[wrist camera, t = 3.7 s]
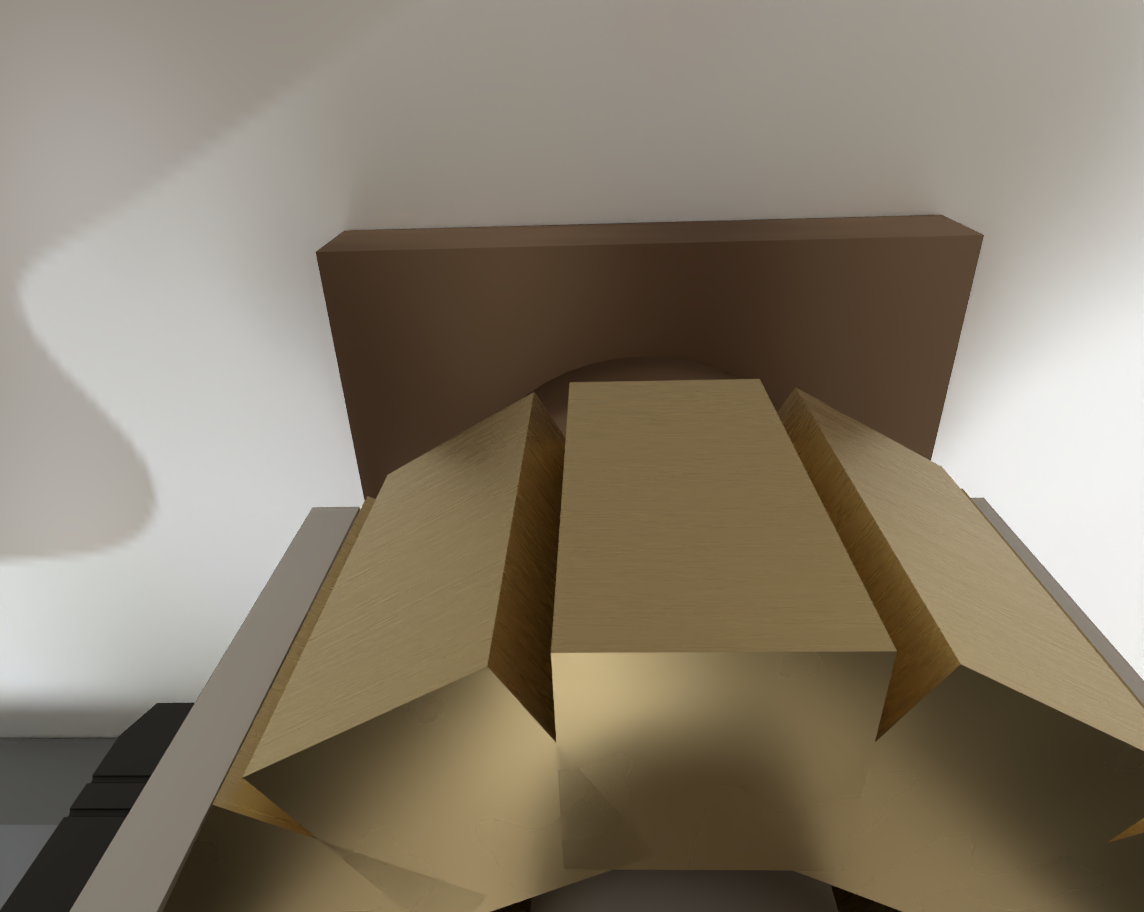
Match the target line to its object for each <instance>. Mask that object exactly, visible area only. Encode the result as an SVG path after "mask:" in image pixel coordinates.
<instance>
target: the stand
mask: <svg viewBox="0 0 1144 912" xmlns="http://www.w3.org/2000/svg"><path fill="white" fill-rule="evenodd" d="M983 236H984V235H983V234H980V233H978V232H976V231H974V230H972V229H970V228H968V227H966V226H964V225H962V224H959V223H957V222H955V221H953V220H951V219H949V218H947V217H945V216H943V215H920V216H883V217H845V218H807V219H769V220H731V221H693V222H655V223H617V224H579V225H542V226H504V227H466V228H428V229H390V230H352V231H343V232H342V233H341V234H339V235H338V236H337V237H335V238H334V239H333V240H331V241H330V242H329V243H327V244H326V245H325V246H323V247H322V248H321V249H319V250H318V251H317V252H316V255H317V261H318V266H319V271H320V276H321V281H322V286H323V291H324V296H325V301H326V306H327V311H328V317H329V322H330V327H331V332H332V337H333V342H334V347H335V352H336V357H337V362H338V367H339V373H340V378H341V383H342V388H343V393H344V398H345V403H346V408H347V413H348V418H349V423H350V429H351V434H352V439H353V444H354V449H355V454H356V459H357V464H358V469H359V474H360V479H361V485H362V490H363V495H364V500H366V498H367V496H369V497H371V498H373V499H375V500H376V498H377V496H378V494H379V492H380V490H381V488H382V486H383V484H384V481H385V479H386V477H387V475H388V474H390V473H392V472H393V471H395V470H397V469H399V468H401V467H402V466H404V465H406V464H408V463H409V462H411V461H413V460H415V459H416V458H418V457H420V456H422V455H423V454H425V453H427V452H429V451H431V450H432V449H434V448H436V447H438V446H439V445H441V444H443V443H445V442H446V441H448V440H450V439H452V438H453V437H455V436H457V435H459V434H461V433H462V432H464V431H466V430H468V429H469V428H471V427H473V426H475V425H476V424H478V423H480V422H482V421H483V420H485V419H487V418H489V417H491V416H492V415H494V414H496V413H498V412H499V411H501V410H503V409H505V408H506V407H508V406H510V405H512V404H513V403H515V402H517V401H519V400H521V399H522V398H524V397H526V396H528V395H529V394H531V393H533V392H534V393H535V394H536V395H537V397H538V398H539V400H540V401H541V403H542V404H543V406H544V407H545V408H546V410H547V411H548V413H549V414H550V416H551V417H552V418H553V420H554V421H555V423H556V424H557V426H558V427H559V429H560V430H561V431H562V433H563V434H564V436H565V437H566V427H567V412H568V398H569V383H570V382H617V381H671V380H727V379H760V380H761V382H762V384H763V386H764V388H765V390H766V392H767V394H768V396H769V398H770V400H771V402H772V404H773V406H774V408H775V410H776V412H777V411H778V410H779V408H780V407H781V406H782V404H783V403H784V402H785V401H786V399H787V398H788V397H789V395H790V394H791V393H792V391H793V390H794V389H795V387H796V388H798V389H800V390H801V391H803V392H805V393H807V394H809V395H811V396H813V397H814V398H816V399H818V400H820V401H822V402H824V403H825V404H827V405H829V406H831V407H833V408H835V409H836V410H838V411H840V412H842V413H844V414H846V415H847V416H849V417H851V418H853V419H855V420H857V421H858V422H860V423H862V424H864V425H866V426H868V427H869V428H871V429H873V430H875V431H877V432H879V433H881V434H882V435H884V436H886V437H888V438H890V439H892V440H893V441H895V442H897V443H899V444H901V445H903V446H904V447H906V448H908V449H910V450H912V451H914V452H915V453H917V454H919V455H921V456H923V457H925V458H926V459H928V460H930V461H931V457H932V453H933V449H934V445H935V440H936V436H937V432H938V428H939V423H940V419H941V415H942V411H943V406H944V402H945V398H946V394H947V389H948V385H949V381H950V377H951V372H952V368H953V364H954V360H955V355H956V351H957V347H958V343H959V338H960V334H961V330H962V326H963V321H964V317H965V313H966V308H967V304H968V300H969V296H970V291H971V287H972V283H973V279H974V274H975V270H976V266H977V262H978V257H979V253H980V249H981V245H982V240H983ZM530 912H838V908H837V905H836V901H835V898H834V894H833V891H832V887H831V885H830V884H827V883H825V882H822V881H819V880H817V879H814V878H811V877H809V876H806V875H803V874H801V873H798V872H795V871H778V870H610V871H607V872H604V873H602V874H599V875H596V876H593V877H590V878H587V879H584V880H581V881H578V882H575V883H572V884H569V885H567V886H564V887H561V888H558V889H555V890H552V891H549V892H546V893H543V894H540V895H537V896H535V897H532V898H531V910H530Z"/></svg>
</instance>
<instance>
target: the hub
mask: <svg viewBox="0 0 1144 912" xmlns="http://www.w3.org/2000/svg"><path fill="white" fill-rule="evenodd" d="M116 740H117V738H71V739H0V910H1V908H2V907H3V905H4V904H5V902H6V901H7V899H8V898H9V896H10V895H11V894H12V892H13V891H14V889H15V888H16V886H17V885H18V883H19V882H20V880H21V879H22V877H23V876H24V874H25V873H26V872H27V870H28V869H29V867H30V866H31V864H32V863H33V861H34V860H35V858H36V857H37V855H38V854H39V853H40V851H41V850H42V848H43V847H44V845H45V844H46V842H47V841H48V839H49V838H50V836H51V835H52V833H53V832H54V831H55V829H56V828H57V826H58V825H59V823H60V822H61V820H62V819H63V817H68V816H69V813H70V807H71V806H72V804H73V803H74V801H75V800H76V798H77V797H78V795H79V794H80V792H81V791H82V790H83V788H84V787H85V785H86V784H87V783H91V781H92V778H93V777H92V775H93V773H94V772H95V771H96V769H97V768H98V766H99V765H100V763H101V762H102V760H103V759H104V757H105V756H106V754H107V753H108V751H109V750H110V749H111V747H112V746H113V744H114V743H115V741H116Z"/></svg>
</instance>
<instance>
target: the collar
mask: <svg viewBox="0 0 1144 912" xmlns="http://www.w3.org/2000/svg"><path fill="white" fill-rule="evenodd" d="M610 870H778V871H795V872H798V873H801V874H803V875H806V876H809V877H811V878H814V879H817V880H819V881H822V882H825V883H827V884H830V885H831V887H832V891H833V894H834V898H835V901H836V905H837V908H838V912H1144V704H1143V703H1142V702H1141V701H1140V700H1139V698H1138V697H1137V696H1136V695H1135V694H1134V692H1133V691H1132V690H1131V689H1130V688H1129V687H1128V685H1127V684H1126V683H1125V682H1124V681H1123V679H1122V678H1121V677H1120V676H1119V675H1118V673H1117V672H1116V671H1115V670H1114V669H1113V667H1112V666H1111V665H1110V664H1109V663H1108V661H1107V660H1106V659H1105V658H1104V657H1103V656H1102V654H1101V653H1100V652H1099V651H1098V650H1097V648H1096V647H1095V646H1094V645H1093V644H1092V642H1091V641H1090V640H1089V639H1088V638H1087V636H1086V635H1085V634H1084V633H1083V632H1082V630H1081V629H1080V628H1079V627H1078V626H1077V625H1076V623H1075V622H1074V621H1073V620H1072V619H1071V617H1070V616H1069V615H1068V614H1067V613H1066V611H1065V610H1064V609H1063V608H1062V607H1061V605H1060V604H1059V603H1058V602H1057V601H1056V599H1055V598H1054V597H1053V596H1052V595H1051V594H1050V592H1049V591H1048V590H1047V589H1046V588H1045V586H1044V585H1043V584H1042V583H1041V582H1040V580H1039V579H1038V578H1037V577H1036V576H1035V574H1034V573H1033V572H1032V571H1031V570H1030V568H1029V567H1028V566H1027V565H1026V564H1025V563H1024V561H1023V560H1022V559H1021V558H1020V557H1019V555H1018V554H1017V553H1016V552H1015V551H1014V549H1013V548H1012V547H1011V546H1010V545H1009V543H1008V542H1007V541H1006V540H1005V539H1004V537H1003V536H1002V535H1001V534H1000V533H999V532H998V530H997V529H996V528H995V527H994V526H993V524H992V523H991V522H990V521H989V520H988V518H987V517H986V516H985V515H984V514H983V512H982V511H981V510H980V509H979V508H978V506H977V505H976V504H975V503H974V502H973V501H972V499H971V498H970V497H969V496H968V495H967V493H966V492H965V491H964V490H963V489H960V488H959V487H958V485H957V484H956V483H955V482H954V481H953V479H952V478H951V477H950V476H949V475H948V473H947V472H946V471H945V470H944V469H943V467H941V466H939V465H937V464H936V463H934V462H932V461H930V460H928V459H926V458H925V457H923V456H921V455H919V454H917V453H915V452H914V451H912V450H910V449H908V448H906V447H904V446H903V445H901V444H899V443H897V442H895V441H893V440H892V439H890V438H888V437H886V436H884V435H882V434H881V433H879V432H877V431H875V430H873V429H871V428H869V427H868V426H866V425H864V424H862V423H860V422H858V421H857V420H855V419H853V418H851V417H849V416H847V415H846V414H844V413H842V412H840V411H838V410H836V409H835V408H833V407H831V406H829V405H827V404H825V403H824V402H822V401H820V400H818V399H816V398H814V397H813V396H811V395H809V394H807V393H805V392H803V391H801V390H800V389H798V388H796V387H795V389H794V390H793V391H792V393H791V394H790V395H789V397H788V398H787V399H786V401H785V402H784V403H783V404H782V406H781V407H780V408H779V410H778V411H777V412H776V410H775V408H774V406H773V404H772V402H771V400H770V398H769V396H768V394H767V392H766V390H765V388H764V386H763V384H762V382H761V380H760V379H727V380H671V381H617V382H570V383H569V398H568V412H567V427H566V437H565V436H564V434H563V433H562V431H561V430H560V429H559V427H558V426H557V424H556V423H555V421H554V420H553V418H552V417H551V416H550V414H549V413H548V411H547V410H546V408H545V407H544V406H543V404H542V403H541V401H540V400H539V398H538V397H537V395H536V394H535V393H534V392H533V393H531V394H529V395H528V396H526V397H524V398H522V399H521V400H519V401H517V402H515V403H513V404H512V405H510V406H508V407H506V408H505V409H503V410H501V411H499V412H498V413H496V414H494V415H492V416H491V417H489V418H487V419H485V420H483V421H482V422H480V423H478V424H476V425H475V426H473V427H471V428H469V429H468V430H466V431H464V432H462V433H461V434H459V435H457V436H455V437H453V438H452V439H450V440H448V441H446V442H445V443H443V444H441V445H439V446H438V447H436V448H434V449H432V450H431V451H429V452H427V453H425V454H423V455H422V456H420V457H418V458H416V459H415V460H413V461H411V462H409V463H408V464H406V465H404V466H402V467H401V468H399V469H397V470H395V471H393V472H392V473H390V474H388V475H387V477H386V479H385V481H384V484H383V486H382V488H381V490H380V492H379V494H378V496H377V498H376V500H375V499H373V498H371V497H369V496H367V498H366V500H365V502H364V504H363V506H362V508H361V510H360V512H359V514H358V516H357V518H356V520H355V522H354V524H353V526H352V528H351V530H350V532H349V534H348V536H347V538H346V540H345V542H344V544H343V546H342V548H341V550H340V552H339V554H338V556H337V557H336V559H335V561H334V563H333V565H332V567H331V569H330V571H329V573H328V575H327V577H326V579H325V581H324V583H323V585H322V587H321V589H320V591H319V593H318V595H317V597H316V599H315V601H314V603H313V605H312V607H311V609H310V611H309V613H308V615H307V617H306V619H305V621H304V623H303V625H302V627H301V629H300V631H299V633H298V635H297V637H296V639H295V641H294V643H293V645H292V647H291V649H290V651H289V653H288V655H287V657H286V659H285V661H284V663H283V665H282V667H281V669H280V671H279V673H278V675H277V677H276V679H275V681H274V683H273V685H272V687H271V689H270V691H269V693H268V695H267V697H266V699H265V701H264V703H263V705H262V707H261V709H260V711H259V713H258V715H257V717H256V719H255V721H254V723H253V725H252V727H251V729H250V731H249V733H248V735H247V737H246V739H245V741H244V743H243V745H242V747H241V749H240V751H239V753H238V755H237V757H236V759H235V761H234V763H233V765H232V767H231V769H230V770H229V772H228V774H227V776H226V778H225V780H224V782H223V784H222V786H221V788H220V790H219V792H218V794H217V796H216V798H215V800H214V802H213V804H212V806H211V809H210V811H209V813H208V815H207V817H206V819H205V821H204V824H203V826H202V828H201V830H200V832H199V834H198V836H197V839H196V841H195V843H194V845H193V847H192V849H191V851H190V854H189V856H188V858H187V860H186V862H185V864H184V866H183V869H182V871H181V873H180V875H179V877H178V879H177V881H176V884H175V886H174V888H173V890H172V892H171V894H170V896H169V899H168V901H167V903H166V905H165V907H164V909H163V911H162V912H530V910H531V898H532V897H535V896H537V895H540V894H543V893H546V892H549V891H552V890H555V889H558V888H561V887H564V886H567V885H569V884H572V883H575V882H578V881H581V880H584V879H587V878H590V877H593V876H596V875H599V874H602V873H604V872H607V871H610Z"/></svg>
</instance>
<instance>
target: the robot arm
mask: <svg viewBox="0 0 1144 912" xmlns="http://www.w3.org/2000/svg"><path fill="white" fill-rule="evenodd" d="M971 499H972V501H973V502H974V503H975V504H976V505H977V506H978V508H979V509H980V510H981V511H982V512H983V514H984V515H985V516H986V517H987V518H988V520H989V521H990V522H991V523H992V524H993V526H994V527H995V528H996V529H997V530H998V532H999V533H1000V534H1001V535H1002V536H1003V537H1004V539H1005V540H1006V541H1007V542H1008V543H1009V545H1010V546H1011V547H1012V548H1013V549H1014V551H1015V552H1016V553H1017V554H1018V555H1019V557H1020V558H1021V559H1022V560H1023V561H1024V563H1025V564H1026V565H1027V566H1028V567H1029V568H1030V570H1031V571H1032V572H1033V573H1034V574H1035V576H1036V577H1037V578H1038V579H1039V580H1040V582H1041V583H1042V584H1043V585H1044V586H1045V588H1046V589H1047V590H1048V591H1049V592H1050V594H1051V595H1052V596H1053V597H1054V598H1055V599H1056V601H1057V602H1058V603H1059V604H1060V605H1061V607H1062V608H1063V609H1064V610H1065V611H1066V613H1067V614H1068V615H1069V616H1070V617H1071V619H1072V620H1073V621H1074V622H1075V623H1076V625H1077V626H1078V627H1079V628H1080V629H1081V630H1082V632H1083V633H1084V634H1085V635H1086V636H1087V638H1088V639H1089V640H1090V641H1091V642H1092V644H1093V645H1094V646H1095V647H1096V648H1097V650H1098V651H1099V652H1100V653H1101V654H1102V656H1103V657H1104V658H1105V659H1106V660H1107V661H1108V663H1109V664H1110V665H1111V666H1112V667H1113V669H1114V670H1115V671H1116V672H1117V673H1118V675H1119V676H1120V677H1121V678H1122V679H1123V681H1124V682H1125V683H1126V684H1127V685H1128V687H1129V688H1130V689H1131V690H1132V691H1133V692H1134V694H1135V695H1136V696H1137V697H1138V698H1139V700H1140V701H1141V702H1142V703H1143V704H1144V681H1143V679H1142V678H1141V677H1140V676H1139V675H1138V674H1137V673H1136V671H1135V670H1134V669H1133V668H1132V667H1131V666H1130V665H1129V663H1128V662H1127V661H1126V660H1125V659H1124V658H1123V657H1122V655H1121V654H1120V653H1119V652H1118V651H1117V650H1116V649H1115V647H1114V646H1113V645H1112V644H1111V643H1110V642H1109V641H1108V639H1107V638H1106V637H1105V636H1104V635H1103V634H1102V633H1101V631H1100V630H1099V629H1098V628H1097V627H1096V626H1095V625H1094V623H1093V622H1092V621H1091V620H1090V619H1089V618H1088V617H1087V615H1086V614H1085V613H1084V612H1083V611H1082V610H1081V609H1080V607H1079V606H1078V605H1077V604H1076V603H1075V602H1074V601H1073V599H1072V598H1071V597H1070V596H1069V595H1068V594H1067V592H1066V591H1065V590H1064V589H1063V588H1062V587H1061V586H1060V584H1059V583H1058V582H1057V581H1056V580H1055V579H1054V578H1053V576H1052V575H1051V574H1050V573H1049V572H1048V571H1047V570H1046V568H1045V567H1044V566H1043V565H1042V564H1041V563H1040V562H1039V560H1038V559H1037V558H1036V557H1035V556H1034V555H1033V554H1032V552H1031V551H1030V550H1029V549H1028V548H1027V547H1026V546H1025V544H1024V543H1023V542H1022V541H1021V540H1020V539H1019V538H1018V536H1017V535H1016V534H1015V533H1014V532H1013V531H1012V530H1011V528H1010V527H1009V526H1008V525H1007V524H1006V523H1005V522H1004V520H1003V519H1002V518H1001V517H1000V516H999V515H998V514H997V512H996V511H995V510H994V509H993V508H992V507H991V506H990V504H989V503H988V502H987V501H986V500H985V499H984V498H971ZM359 512H360V508H359V507H313V508H312V509H311V511H310V513H309V514H308V516H307V518H306V519H305V521H304V523H303V524H302V526H301V528H300V529H299V531H298V532H297V534H296V536H295V537H294V539H293V541H292V542H291V544H290V546H289V547H288V549H287V551H286V552H285V554H284V556H283V557H282V559H281V561H280V562H279V564H278V566H277V567H276V569H275V571H274V572H273V574H272V576H271V577H270V579H269V581H268V582H267V584H266V586H265V587H264V589H263V591H262V592H261V594H260V596H259V597H258V599H257V601H256V602H255V604H254V606H253V607H252V609H251V611H250V612H249V614H248V616H247V617H246V619H245V621H244V622H243V624H242V626H241V627H240V629H239V631H238V632H237V634H236V636H235V637H234V639H233V641H232V642H231V644H230V646H229V647H228V649H227V651H226V652H225V654H224V656H223V657H222V659H221V661H220V662H219V664H218V666H217V667H216V669H215V671H214V672H213V674H212V676H211V677H210V679H209V681H208V682H207V684H206V685H205V687H204V689H203V690H202V692H201V694H200V695H199V697H198V699H197V700H196V702H195V703H157V704H156V705H155V706H153V707H152V708H151V709H150V710H149V711H148V712H147V713H145V714H144V715H143V716H142V717H141V718H140V719H138V720H137V721H136V722H135V723H134V724H133V725H131V726H130V727H129V728H128V729H127V730H126V731H124V732H123V733H122V734H121V735H120V736H119V737H118V738H117V740H116V741H115V743H114V744H113V746H112V747H111V749H110V750H109V751H108V753H107V754H106V756H105V757H104V759H103V760H102V762H101V763H100V765H99V766H98V768H97V769H96V771H95V772H94V773H93V775H92V777H93V778H92V781H91V783H87V784H86V785H85V787H84V788H83V790H82V791H81V792H80V794H79V795H78V797H77V798H76V800H75V801H74V803H73V804H72V806H71V807H70V813H69V816H68V817H63V819H62V820H61V822H60V823H59V825H58V826H57V828H56V829H55V831H54V832H53V833H52V835H51V836H50V838H49V839H48V841H47V842H46V844H45V845H44V847H43V848H42V850H41V851H40V853H39V854H38V855H37V857H36V858H35V860H34V861H33V863H32V864H31V866H30V867H29V869H28V870H27V872H26V873H25V874H24V876H23V877H22V879H21V880H20V882H19V883H18V885H17V886H16V888H15V889H14V891H13V892H12V894H11V895H10V896H9V898H8V899H7V901H6V902H5V904H4V905H3V907H2V908H1V910H0V912H162V911H163V909H164V907H165V905H166V903H167V901H168V899H169V896H170V894H171V892H172V890H173V888H174V886H175V884H176V881H177V879H178V877H179V875H180V873H181V871H182V869H183V866H184V864H185V862H186V860H187V858H188V856H189V854H190V851H191V849H192V847H193V845H194V843H195V841H196V839H197V836H198V834H199V832H200V830H201V828H202V826H203V824H204V821H205V819H206V817H207V815H208V813H209V811H210V809H211V806H212V804H213V802H214V800H215V798H216V796H217V794H218V792H219V790H220V788H221V786H222V784H223V782H224V780H225V778H226V776H227V774H228V772H229V770H230V769H231V767H232V765H233V763H234V761H235V759H236V757H237V755H238V753H239V751H240V749H241V747H242V745H243V743H244V741H245V739H246V737H247V735H248V733H249V731H250V729H251V727H252V725H253V723H254V721H255V719H256V717H257V715H258V713H259V711H260V709H261V707H262V705H263V703H264V701H265V699H266V697H267V695H268V693H269V691H270V689H271V687H272V685H273V683H274V681H275V679H276V677H277V675H278V673H279V671H280V669H281V667H282V665H283V663H284V661H285V659H286V657H287V655H288V653H289V651H290V649H291V647H292V645H293V643H294V641H295V639H296V637H297V635H298V633H299V631H300V629H301V627H302V625H303V623H304V621H305V619H306V617H307V615H308V613H309V611H310V609H311V607H312V605H313V603H314V601H315V599H316V597H317V595H318V593H319V591H320V589H321V587H322V585H323V583H324V581H325V579H326V577H327V575H328V573H329V571H330V569H331V567H332V565H333V563H334V561H335V559H336V557H337V556H338V554H339V552H340V550H341V548H342V546H343V544H344V542H345V540H346V538H347V536H348V534H349V532H350V530H351V528H352V526H353V524H354V522H355V520H356V518H357V516H358V514H359Z"/></svg>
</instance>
